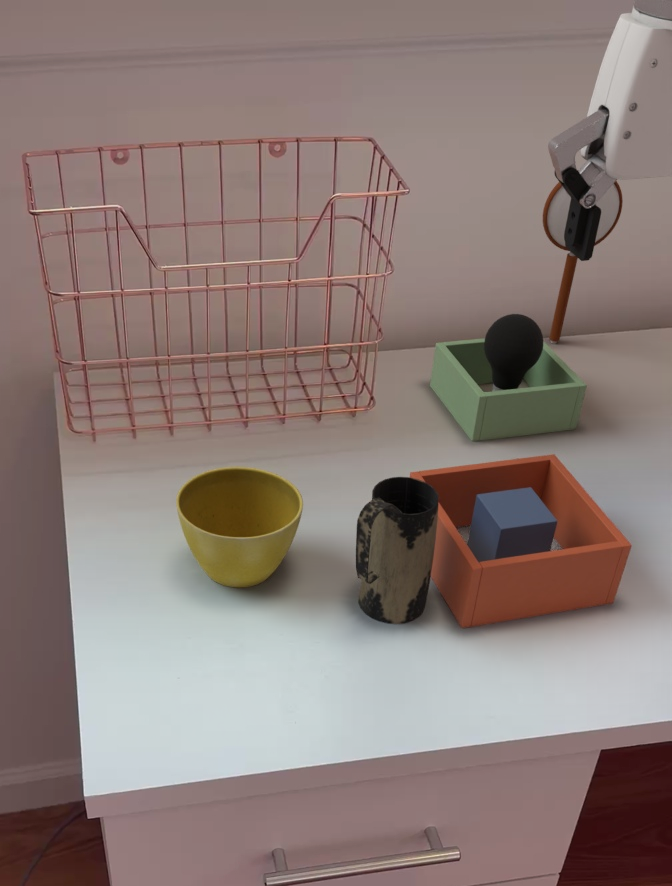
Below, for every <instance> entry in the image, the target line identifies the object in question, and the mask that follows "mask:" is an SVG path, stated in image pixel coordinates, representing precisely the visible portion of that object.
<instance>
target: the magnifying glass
mask: <svg viewBox="0 0 672 886" xmlns="http://www.w3.org/2000/svg"><path fill="white" fill-rule="evenodd" d="M577 170H578V171H579V170H580V169H577ZM596 177H597V176H596ZM596 177H595V178H596ZM595 178H594V179H595ZM594 179H593V180H594ZM589 185H590V184H589ZM570 201H571V197H570V196H569V195H568V194H567V193H566V190H565V189H564V187H563V186H562V185H561V183H560V182H559V181H558V182H557V183H556V184H555V186H554V187H553V188H552V190H551V191H550V192H549V194H548V196H547V198H546V200H545V203H544V207H543V210H542V226H543V230H544V232H545V233H544V234H545V235H546V237H547V239H548V240H549V241H550V242H551V244H553V246H555V247H557V248H558V249H561V250H563V251H567V252H568V253H567V254H566V259H565V262H564V263H565V264H564V267H563V273H562V277H561V280H560V281H561V282H560V286H559V291H558V296H557V301H556V305H555V310H554V314H553V319H552V323H551V328H550V333H549V337H548V339H549V341H550V343H551V344H555V345H556V344H557V343H558V342H560V339H561V335H562V330H563V326H564V321H565V317H566V312H567V308H568V305H569V304H568V303H569V298H570V295H571V289H572V286H573V281H574V278H575V277H574V276H575V272H576V267H577V262H578V260H579V258H577V257H576V256H575V255H574V254H573V253H572V252H570V251H569V250H568V249H567V248H566V246H565V240H564V232H565V227H566V222H567V217H568V212H569V206H570ZM623 201H624V200H623V193H622V189H621V187H620V184H619V183H618V181H617V180H616V181H615V183H614V184H613V185H612V186H611V187H610V188H609V189H608V190H607V192H606V193H605V194H604V195H603V196H602V197H601V198H600V199H599V201H598V202H597V203H596V206H598V207H599V208H600V209H601V217H600V222H599V226H598V231H597V236H596V240H595V245H594V247H595V246H597V245H599V244H600V243H602V242H603V241H605V239H606V238H607V237H609V235H610V234H611V233H612V232H613V230H614V229H615V227H616V225H617V224H618V222H619V220H620V218H621V214H622V210H623Z"/></svg>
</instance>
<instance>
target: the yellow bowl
mask: <svg viewBox="0 0 672 886" xmlns="http://www.w3.org/2000/svg"><path fill="white" fill-rule="evenodd" d="M175 507H176V511H177V515H178V520H179V523H180V527H181V530H182V534H183V536H184V538H185V541H186V543H187V545H188V547H189V550H190V552H191V553H192V556H193V557H194V558H195V560H196V562H197V563H198V566H200V568H201V569H202V570H203V571H204V572H205V574H206V575H207V576H208V577H209V578H210V579H211V580H212V581H214V582H215V583H217V584H220V585H222V586H225V587H230V588H250V587H254V586H257V585H259V584H261V583H263V582H265V581H266V580H267V579H269V578H270V576H272V574H273V573H274V572H275V571H276V570H277V568H279V565H280V564H282V562H283V560H284V558H285V556H286V555H287V553H288V551H289V550H290V548H291V545H292V543H293V541H294V539H295V536H296V534H297V531H298V529H299V525H300V522H301V518H302V514H303V510H304V500H303V496H302V494H301V492H300V490H299V488H297V487H296V486H295V485H294V483H292V482H291V481H290V480H288V479H287V478H285V477H283V476H282V475H281V476H280V475H278V474H277V473H274V472H272V471H268V470H265V469H261V468H256V467H247V466H226V467H219V468H215V469H210V470H207V471H203V472H201V473H199V474H197V475H195V476H193V477H191V478H190V479H188V480H187V481H186V482H185V483H184V484H183V485H182V486H181V487H180V489H179V490H178V492H177V495H176V498H175Z"/></svg>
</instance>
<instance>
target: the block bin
mask: <svg viewBox="0 0 672 886" xmlns="http://www.w3.org/2000/svg"><path fill="white" fill-rule="evenodd" d="M409 477H410V478H415V479H418V480H421V481H424V482H426V483H427V484H429V485H431V486H432V487H433V488H434V489H435V490H436V492H437V494H438V498H439V502H438V521H437V530H436V540H435V549H434V557H433V564H432V570H431V577H430V579H432V582H433V583H434V584H435V586H436V588H437V590H438V592H439V593H440V595H441V596H442V598H443V600H444V601H445V603H446V605H447V606H448V608H449V609H450V611H451V613H452V615H453V616H454V619H456V621H457V623H458V625H459V627H460V628H461V629H465V628H472V627H478V626H484V625H490V624H496V623H501V622H508V621H514V620H520V619H526V618H532V617H537V616H544V615H550V614H557V613H563V612H568V611H573V610H574V611H575V610H580V609H587V608H592V607H597V606H598V607H599V606H603V605H610V604H614V602H615V599H616V596H617V592H618V590H619V586H620V584H621V580H622V577H623V575H624V571H625V568H626V565H627V563H628V559H629V557H630V556H629V555H630V552H631V550H632V544H631V543H630V541H629V540H628V539H627V538H626V536H625V535H624V534H623V533H622V531H621V530H620V529H619V528H618V527H617V526H616V524H615V523H614V522H613V521H612V520H611V519H610V518H609V517H608V515H607V514H606V513H605V512H604V510H603V509H602V508H601V507H600V506H599V505H598V503H596V501H595V500H594V499H593V497H592V496H591V495H590V494H589V493H588V492H587V490H585V488H584V487H583V486H582V485H581V484H580V482H579V481H578V480H577V479H576V477H574V475H573V474H572V473H571V472H570V470H568V469H567V467H566V466H565V464H563V462H561V460H560V459H559V458H558V457H557V455H556V454H554V453H553V454H544V455H535V456H527V457H521V458H511V459H503V460H497V461H488V462H482V463H473V464H465V465H457V466H449V467H441V468H433V469H424V470H417V471H410V473H409ZM529 487H531V488H532V489H533V490H534V492H535V493H536V494H537V495H538V497H539V498H540V499H541V501H542V502H543V503H544V504H545V506H546V507H547V508H548V509H549V511H550V512H551V513H552V515H553V516H554V517H555V518H556V520H557V526H556V529H555V533H554V537H553V539H554V540H555V542H557V544H558V545H559V546H560V548H561V549H555V550H550V551H548V552H542V553H535V554H528V555H522V556H515V557H508V558H502V559H495V560H488V561H482V562H478V561H477V559H476V558H475V556H474V555H473V553H472V552H471V550H470V549H469V547H468V546H467V544H468V543H467V542H466V541H465V540H464V538H463V536H462V534H461V533H460V532H459V531H458V529H457V528H459V527H460V528H461V527H467V526H471V522H472V517H473V512H474V506H475V501H476V495H477V494H484V493H491V492H499V491H506V490H514V489H521V488H529Z"/></svg>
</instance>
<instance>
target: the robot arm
mask: <svg viewBox="0 0 672 886" xmlns="http://www.w3.org/2000/svg"><path fill="white" fill-rule="evenodd" d="M603 55H604V56H603V58H602V60H601V61H602V62H601V64H600V68H599V71H598V73H597V78H596V81H595V84H594V88H593V91H592V96H591V99H590V103H589V107H588V111H587V114H586V117H585V118H584V119H583V118H582V120H580V121H579V122H577V123H575V124H573V125H572V126H570V127H569V128H567V129H565V130H564V131H562V132H561V133H559V134H558V135H556V136H555V137H553V138H551V139H550V140H549V142H548V146H547V148H548V152H549V156H550V159H551V163H552V167H553V168H554V172H553V173H554V177H555V178H556V179H557V181H558V183H559V182H560V183H561V185H562V186H563V187H564V189H565V190H566V193H567V194H568V195H569V196H570V197H571V201H570V206H569V212H568V217H567V222H566V227H565V232H564V240H565V246H566V248H567V249H568V250H569V251H568V252H569V253H570V252H572V253H573V254H574V255H575V256H576V257H577V258H578V260H580V262H587V261H590V259H592V258H593V253H594V249H595V246H596V245H595V240H596V236H597V231H598V226H599V222H600V217H601V209H600V208H599V207H598V206H596V203H597V202H598V201H599V199H600V198H601V197H602V196H603V195H604V194H605V193H606V192H607V190H608V189H609V188H610V187H611V186H612V185H613V184H614V183H615V181H617V180H618V181H619V180H620V181H621V180H622V181H625V180H627V181H628V180H629V181H630V180H641V179H642V180H643V179H654V178H667V177H672V0H634V1H633V6H632V10H631V12H626V13H621V14H620V15H619V17H618V20H617V22H616V24H615V28H614V29H613V31H612V34H611V37H610V39H609V41H608V44H607V47H606V49H605V52H604V54H603ZM579 151H580V156H581V158H583V160H585V163H584V164H583V165H582V166H581V167H580V168H579V169H577V166H576V164H577V163H576V162H577V161H576V155H577V153H578V152H579ZM578 170H579V171H578ZM596 176H597V177H596ZM595 177H596V178H595ZM594 178H595V179H594ZM593 179H594V180H593ZM589 184H590V185H589ZM594 245H595V246H594Z"/></svg>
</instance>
